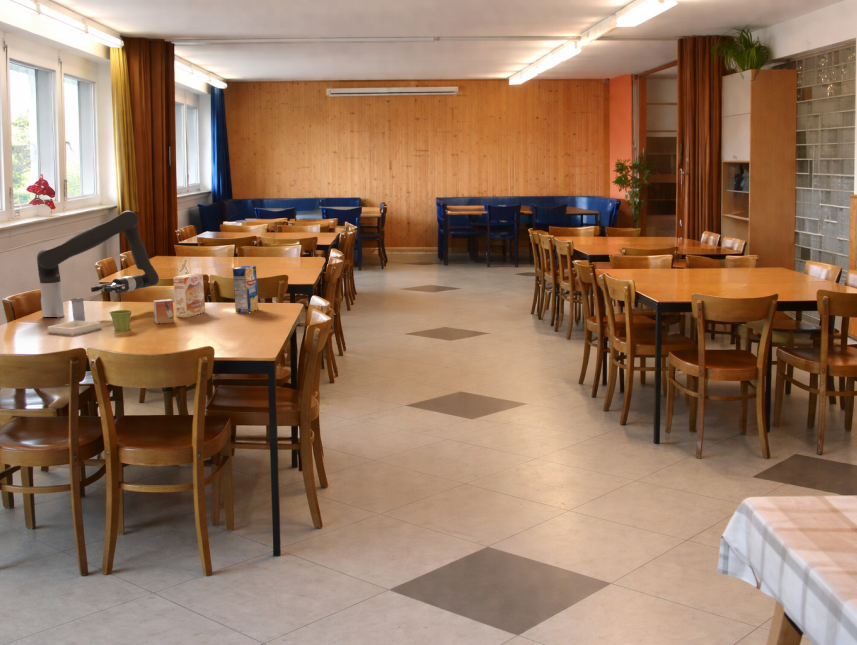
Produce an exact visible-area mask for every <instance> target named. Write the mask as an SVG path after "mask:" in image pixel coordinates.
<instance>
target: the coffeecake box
mask: <svg viewBox="0 0 857 645" xmlns="http://www.w3.org/2000/svg"><path fill="white" fill-rule="evenodd" d="M172 279H173V280H172V282H173V294H174V304H175V305H174V306H175V307H174V308H175V317H176V318H186V317H188V318H190V316H191V317H194V316H197V314H198V315H200V313H201V314H203V312H204V313H206V304H205V290H204V288H205V287H204V273H189V274H187V275H185V274H182V275H178V276H174V277H172Z"/></svg>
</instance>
